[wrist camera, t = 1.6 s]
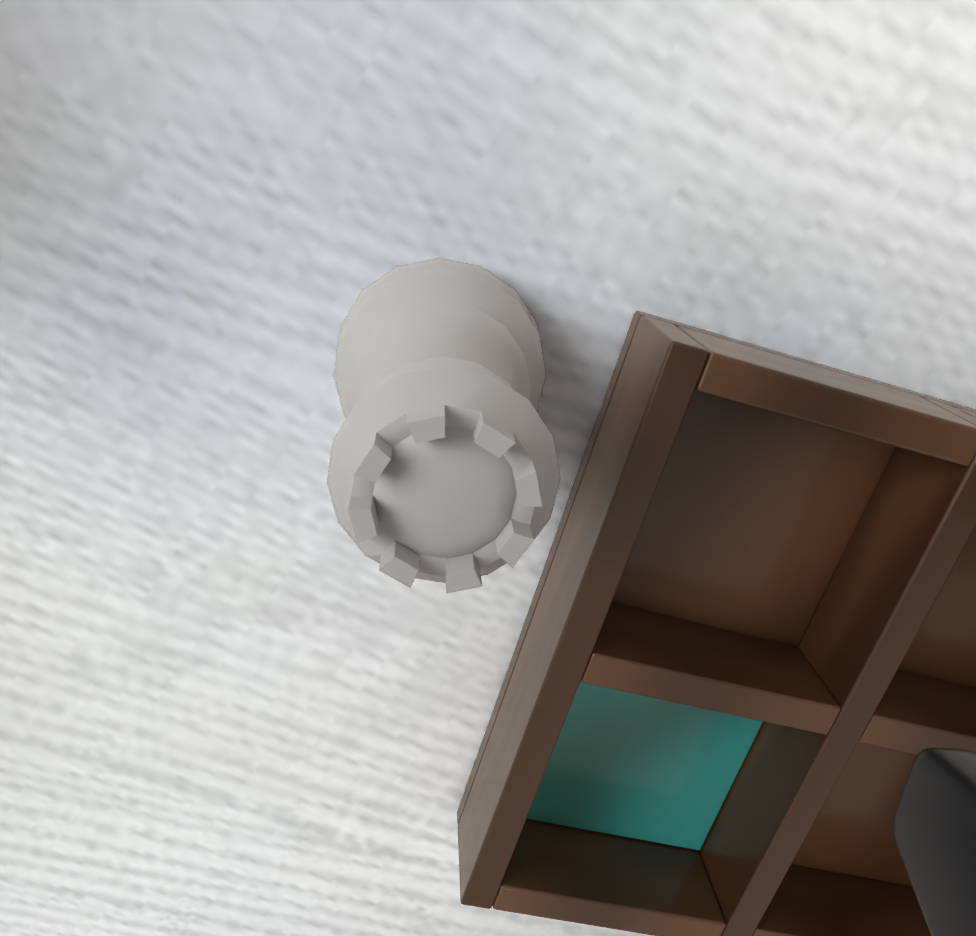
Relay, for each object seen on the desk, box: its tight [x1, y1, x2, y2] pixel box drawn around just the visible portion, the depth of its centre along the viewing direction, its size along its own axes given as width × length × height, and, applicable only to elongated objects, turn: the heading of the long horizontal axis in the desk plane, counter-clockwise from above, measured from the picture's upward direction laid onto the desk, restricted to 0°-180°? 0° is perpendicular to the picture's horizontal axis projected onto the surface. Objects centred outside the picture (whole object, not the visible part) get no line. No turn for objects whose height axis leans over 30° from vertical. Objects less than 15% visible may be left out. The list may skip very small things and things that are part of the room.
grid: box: [457, 311, 976, 936], centre depth 20 cm, size 14×14×3 cm
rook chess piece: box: [327, 258, 560, 593], centre depth 15 cm, size 4×4×8 cm
